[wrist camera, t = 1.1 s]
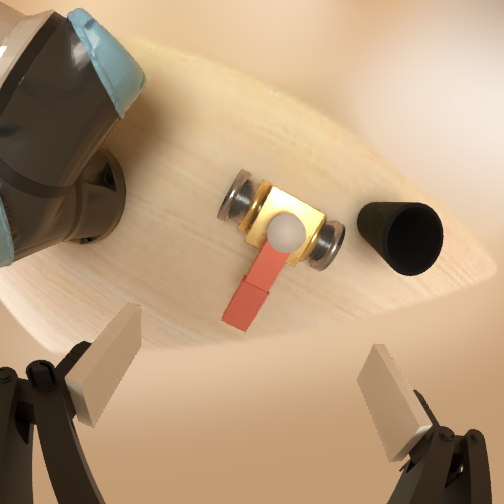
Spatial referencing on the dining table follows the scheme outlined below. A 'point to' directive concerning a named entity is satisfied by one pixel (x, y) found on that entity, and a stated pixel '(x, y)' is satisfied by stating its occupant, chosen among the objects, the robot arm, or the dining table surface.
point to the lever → (265, 269)
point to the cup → (403, 234)
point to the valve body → (272, 203)
